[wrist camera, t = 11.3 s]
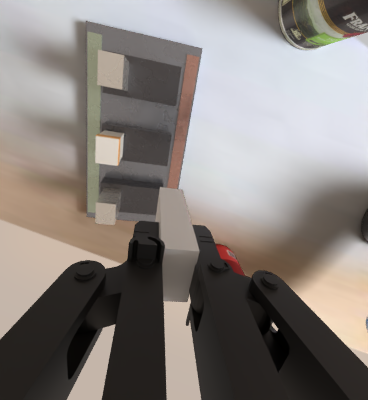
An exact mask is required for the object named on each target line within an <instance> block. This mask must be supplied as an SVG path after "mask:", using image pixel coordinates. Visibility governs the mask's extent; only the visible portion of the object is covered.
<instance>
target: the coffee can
mask: <svg viewBox="0 0 368 400" xmlns="http://www.w3.org/2000/svg"><path fill="white" fill-rule="evenodd" d="M278 12H279V22H280V27H281V30H282V32H283V34H284V36H285V38H286V39H287V40H288V42H289V43H291V44H292V45H293V46H295V47H296V48H299V49H302V50H314V49H317V48H320V47H322V46H325V45H328V44H331V43H334V42H337V41H341V40H344V39H347V38H350V37H354V36H357V35H360V34H363V33H366V32H368V0H279V6H278Z"/></svg>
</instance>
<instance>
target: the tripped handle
mask: <svg viewBox="0 0 368 400" xmlns="http://www.w3.org/2000/svg"><path fill="white" fill-rule="evenodd" d="M123 141H124V133H119V132H113V131H107V130H104V131H103V132H101V133H100V134H97V135H96V150H95V163H99V164H107V165H115V166H118V165H119V162H120V160H121V158H122V156H123Z"/></svg>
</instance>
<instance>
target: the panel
mask: <svg viewBox="0 0 368 400" xmlns="http://www.w3.org/2000/svg"><path fill="white" fill-rule="evenodd" d="M201 54H202V48H198V47H194V46H189V45H185V44H181V43H177V42H173V41H168V40H164V39H160V38H156V37H151V36H147V35H143V34H139V33H135V32H130V31H126V30H122V29H118V28H113V27H109V26H105V25H101V24H97V23H92V22H88V21H86V149H87V217H94V218H95V224H107V225H115V223H116V220H128V221H151V222H155V220H156V212H157V205H158V198H159V190H160V187H164V188H172V189H178V187H179V181H180V175H181V169H182V164H183V158H184V152H185V146H186V141H187V135H188V129H189V123H190V117H191V112H192V106H193V100H194V94H195V88H196V83H197V77H198V71H199V65H200V59H201ZM104 130H107V131H113V132H119V133H124V141H123V156H122V158H121V160H120V162H119V165H118V166H115V165H107V164H99V163H95V150H96V135H97V134H100V133H101V132H103V131H104Z"/></svg>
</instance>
